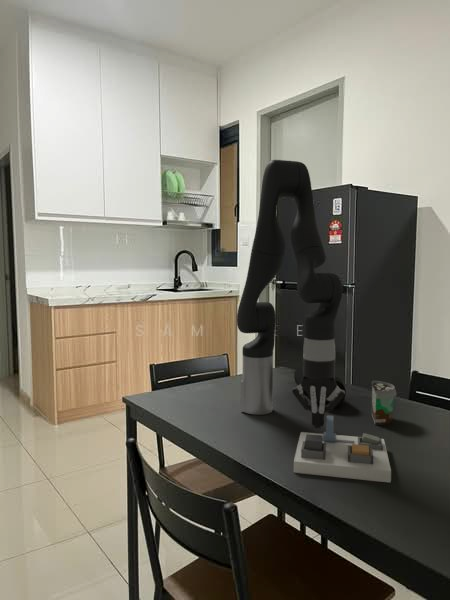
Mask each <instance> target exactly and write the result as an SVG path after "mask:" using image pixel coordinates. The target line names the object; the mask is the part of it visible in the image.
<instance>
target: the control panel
mask: <svg viewBox="0 0 450 600" xmlns="http://www.w3.org/2000/svg"><path fill="white" fill-rule="evenodd" d="M307 434H308V435H320V436H323V433H317V432H305V431H301V432H300V435H299V438H298V442H297V446H296V450H295V454H294V458H293V459H294V460H293V473H296V474H304V475H313V476H325V477H334V478H343V479H353V480H361V481H362V480H363V481H370V482H379V483H382V482H383V483H392V482H391V481H392V467H391V465H390V464H391V463H390V461H389V455H388V452H387V446H386V443H385V439H384V438H379V445H373V444H369V443H366V442H362V436H355V435H352V436H351V435H340V434H336V442H334V441H322V451H316V450H305V439H306V435H307ZM352 444H357V445H368V446H369V455H359V454H351V452H352Z"/></svg>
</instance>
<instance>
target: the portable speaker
mask: <svg viewBox="0 0 450 600" xmlns="http://www.w3.org/2000/svg"><path fill="white" fill-rule="evenodd" d="M293 375H294V377H293V378H294V383H295V384H296V386H298V385H300V384H301V380H302V379H303V362H302V363H300V364H299V365H298V366H296V368H295V370H294V374H293ZM335 381H336V383H337V386H338V387H339V388H340V389H341V390H344V391H345V396H344V397H343V399H342V400H341V401H340V402H339V403H338V404H337V405H336V406H335V407H337V406H339V405H341V404H342V403H343V402H344V400H345V398H346V395H347V391H346V387H345V383H344V382H343V380H341V378H340V377H338V376H336V375H335ZM302 390H303V392H305V390H304V389H303V388H302ZM334 393H335V390H334V391H333V392H332V394H331V395H330V396H329V397H328V398H327V399H326V400H325V405H328V404H329V403H330V402H331V400H332V399H333V398H334V397H335V396H334ZM317 403H319V404H320V399H317Z"/></svg>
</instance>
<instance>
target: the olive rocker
mask: <svg viewBox="0 0 450 600" xmlns="http://www.w3.org/2000/svg"><path fill="white" fill-rule="evenodd" d="M361 437H362V442H366V443H369V444H373V445H379V439H380V438H379V436H376V435H373V434H369V433H365V432H363V433H362V436H361Z"/></svg>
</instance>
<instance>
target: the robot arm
mask: <svg viewBox="0 0 450 600" xmlns="http://www.w3.org/2000/svg"><path fill="white" fill-rule="evenodd" d="M261 180H262V181H261V182H262V183H261V190H260V200H259V209H258V217H257V223H256V228H255V234H254V238H253V240H252V241H253V242H252V246H251V250H250V251H251V252H250V257H249V263H248V270H247V274H246V280H245V284H244V288H243V292H242V294H241V297H240V300H239V301H240V302H239V305H238V308H237V315H236V326H237V328H238V330H239V332H240V333H243V334H257V335H256V337H255V338H253V340H251V341H250V342H248V343H246V344H244V345H243V346H242V379H241V381H240V412H241V413H246V414H249V415H259V416H261V415H268V414H270V413H272V412H273V410H274V409H273V406H274V404H273V403H274V402H273V399H274V398H273V394H274V392H273V391H274V386H273V385H274V384H273V383H274V381H273V380H274V374H273V373H274V347H275V343H276V342H275V341H276V336H275V335H276V325H277V323H276V322H277V321H276V320H277V318H276V316H277V315H276V311H275V307H274V305H273V304H272V303H271V302H269V301H262V302H261V301H260V302H259V299H260V296H261V294H262V293H263V291H264V290H265V289H266V287H267V286H268V285H269V284H270V283H271V282H272V280H273V279H274V278H276V276H277V274H279V272H280V270H281V268H282V266H283V262H284V257H285V253H286V249H287V248H286V247H287V242H286V239H285V235H284V232H283V230H282V227H281V225H280V223H279V219H278V203H279V198H293V199H294V201H295V204H296V207H297V208H296V209H297V211H296V216H295V219H294V221H293V224H292V229H291V231H290V241H291V245H292V249H293V253H294V257H295V259H296V272H297V273H296V275H297V276H296V278H297V279H296V291H297V294H298V296H299V298H300V299H301V300H302V301H303V302H304V303H306V304H319V307H318V308H317V309H316V311H313V312H310V313H308V314H306V315H305V318H304V337H303V338H304V340H303V347H302V349H303V350H302V354H303V355H302V356H303V357H302V363H303V379H302V380H301V384H300V385H296V386H294V387H293V388H292V391H291V392H292V395H294V396H295V397H294V398H296V399H297V401H298V402H299V403H300V405H301V406H302V408H303V409H304V410H306V411H310V413H311V425H312V426H313V427H314V429H319V430H320V429H322V427H324V425H325V413H328V412H329V413H331V412H332V411H333V410H334V409H335V407H337V406H338V405H337V404H338V403H339V402H340V401H341V400H342V399H343V397H344V396H345V391H344V390H341V389H340V388H339V387H338V386H337V383H336V381H335V376H336V353H337V352H336V343H335V329H336V327H335V325H336V324H335V322H336V318H337V314H338V311H339V307H340V304H341V301H342V298H343V293H344V292H343V291H344V289H343V282H342V280H341V278H340V277H339V276H338V275H337V274H336V273H333V272H320V273H319V272H315V269H316V268H319V267H321V266H323V265H324V264H325V263H326V259H327V256H326V251H325V249H324V245H323V243H322V239H321V237H320V233H319V229H318V226H317V220H316V213H315V204H314V203H315V202H314V196H313V190H312V189H313V188H312V181H311V177H310V172H309V169H308V167H307V166H306V164H304V163H303V162H301V161H297V160H296V161H295V160H286V159H284V160H283V159H272V160H270V161H268V162H267V164H266V166H265V168H264V171H263V175H262V179H261ZM302 388H303V389H304V390H305V391H304V390H303V389H302ZM334 390H335V393H334V396H335V397H334V398H333V399H332V400H331V402H330V403H329V404H328V405H325V400H326V399H327V398H328V397H329V396H330V395H331V394H332V392H333V391H334ZM304 392H305V394H306V395H307V396H308V398H310V402H309V401H308V399H307V398H306V397H305V395H304V394H303V393H304ZM345 397H346V396H345ZM317 399H320V403H319V407H318V401H317ZM336 405H337V406H336Z"/></svg>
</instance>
